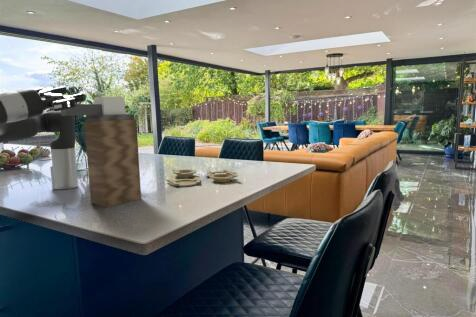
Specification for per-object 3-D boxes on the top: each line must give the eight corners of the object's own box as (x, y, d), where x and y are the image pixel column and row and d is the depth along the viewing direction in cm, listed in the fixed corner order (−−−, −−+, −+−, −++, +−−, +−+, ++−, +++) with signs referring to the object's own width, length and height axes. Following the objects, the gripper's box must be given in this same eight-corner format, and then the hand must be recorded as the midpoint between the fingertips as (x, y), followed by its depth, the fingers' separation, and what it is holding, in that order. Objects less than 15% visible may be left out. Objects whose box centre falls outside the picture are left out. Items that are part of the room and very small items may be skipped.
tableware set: (166, 189, 140) (165, 179, 139) (164, 176, 168) (164, 168, 168) (246, 183, 148) (246, 174, 147) (232, 172, 176) (232, 165, 176)
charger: (68, 115, 102) (66, 95, 102) (59, 115, 106) (57, 96, 105) (125, 114, 118) (124, 97, 117) (115, 114, 122) (114, 98, 121)
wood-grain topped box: (106, 207, 112) (99, 114, 108) (90, 202, 119) (83, 114, 114) (141, 198, 123) (136, 113, 119) (125, 194, 129) (120, 114, 125)
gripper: (31, 98, 82) (88, 86, 94) (0, 85, 88) (58, 75, 101) (36, 126, 86) (91, 111, 98) (6, 111, 92) (62, 99, 104)
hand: (74, 93), depth 99 cm, fingers open, 8 cm apart
